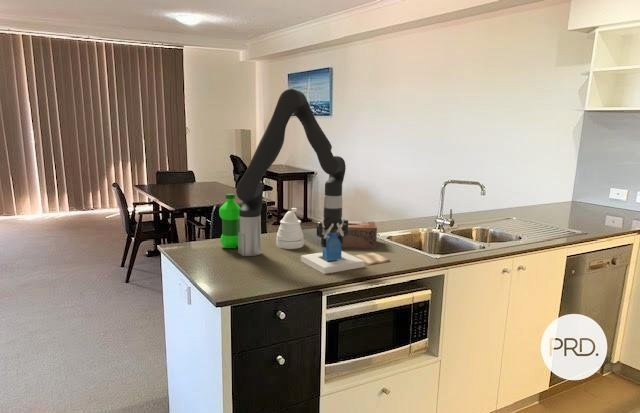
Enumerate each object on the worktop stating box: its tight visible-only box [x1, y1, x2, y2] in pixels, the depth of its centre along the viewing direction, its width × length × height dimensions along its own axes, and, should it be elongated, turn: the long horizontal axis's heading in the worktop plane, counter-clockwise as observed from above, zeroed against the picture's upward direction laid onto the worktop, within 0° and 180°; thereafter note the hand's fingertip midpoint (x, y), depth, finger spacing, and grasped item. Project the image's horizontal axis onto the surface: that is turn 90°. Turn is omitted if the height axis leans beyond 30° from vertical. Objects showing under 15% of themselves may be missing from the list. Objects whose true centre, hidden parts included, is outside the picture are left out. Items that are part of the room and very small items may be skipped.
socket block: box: [300, 250, 365, 275], centre depth 183 cm, size 19×19×2 cm
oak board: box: [353, 252, 391, 266], centre depth 191 cm, size 12×12×1 cm
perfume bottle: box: [322, 229, 343, 261], centre depth 182 cm, size 6×6×12 cm
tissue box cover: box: [322, 219, 378, 249], centre depth 216 cm, size 26×14×10 cm, turn 87°
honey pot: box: [276, 207, 304, 250], centre depth 211 cm, size 13×13×18 cm
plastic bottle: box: [218, 193, 241, 249], centre depth 205 cm, size 10×10×25 cm
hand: (332, 245), depth 182 cm, fingers closed on perfume bottle, 7 cm apart
